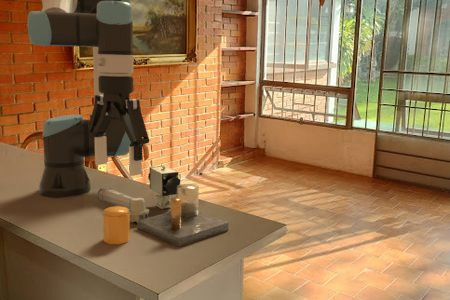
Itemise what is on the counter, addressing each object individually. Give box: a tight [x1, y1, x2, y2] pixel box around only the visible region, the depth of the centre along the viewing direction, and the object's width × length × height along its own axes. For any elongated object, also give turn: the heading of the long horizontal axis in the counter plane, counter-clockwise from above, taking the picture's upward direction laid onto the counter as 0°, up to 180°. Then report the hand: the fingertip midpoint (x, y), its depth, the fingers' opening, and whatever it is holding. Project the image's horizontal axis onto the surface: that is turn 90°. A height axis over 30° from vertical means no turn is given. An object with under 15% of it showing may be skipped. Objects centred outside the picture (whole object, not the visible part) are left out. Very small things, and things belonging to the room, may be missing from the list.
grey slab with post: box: [136, 183, 229, 247], centre depth 122 cm, size 16×16×9 cm
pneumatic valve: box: [147, 165, 181, 210], centre depth 139 cm, size 6×12×12 cm, turn 32°
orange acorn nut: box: [102, 205, 131, 245], centre depth 114 cm, size 6×6×7 cm
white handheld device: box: [96, 187, 150, 223], centre depth 135 cm, size 5×7×25 cm
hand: (117, 169), depth 112 cm, fingers open, 13 cm apart
